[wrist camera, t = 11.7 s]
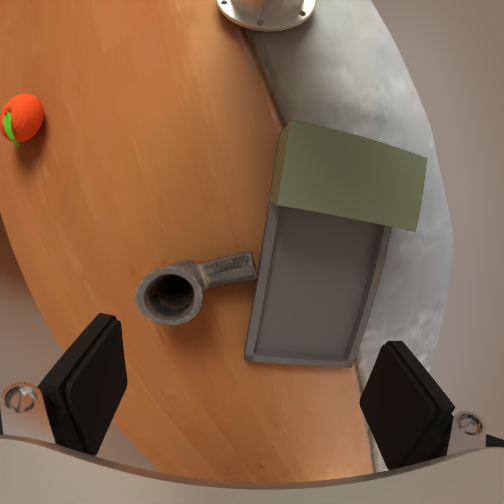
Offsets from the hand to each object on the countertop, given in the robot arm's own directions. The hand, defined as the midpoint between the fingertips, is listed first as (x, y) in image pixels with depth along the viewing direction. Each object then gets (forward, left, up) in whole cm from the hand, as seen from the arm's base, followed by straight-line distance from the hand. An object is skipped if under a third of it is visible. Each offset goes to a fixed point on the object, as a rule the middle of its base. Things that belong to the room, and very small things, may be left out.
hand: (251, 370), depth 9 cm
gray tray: (+5, +10, -26) cm, 29 cm away
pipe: (+5, -4, -27) cm, 27 cm away
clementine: (-12, -32, -27) cm, 44 cm away
